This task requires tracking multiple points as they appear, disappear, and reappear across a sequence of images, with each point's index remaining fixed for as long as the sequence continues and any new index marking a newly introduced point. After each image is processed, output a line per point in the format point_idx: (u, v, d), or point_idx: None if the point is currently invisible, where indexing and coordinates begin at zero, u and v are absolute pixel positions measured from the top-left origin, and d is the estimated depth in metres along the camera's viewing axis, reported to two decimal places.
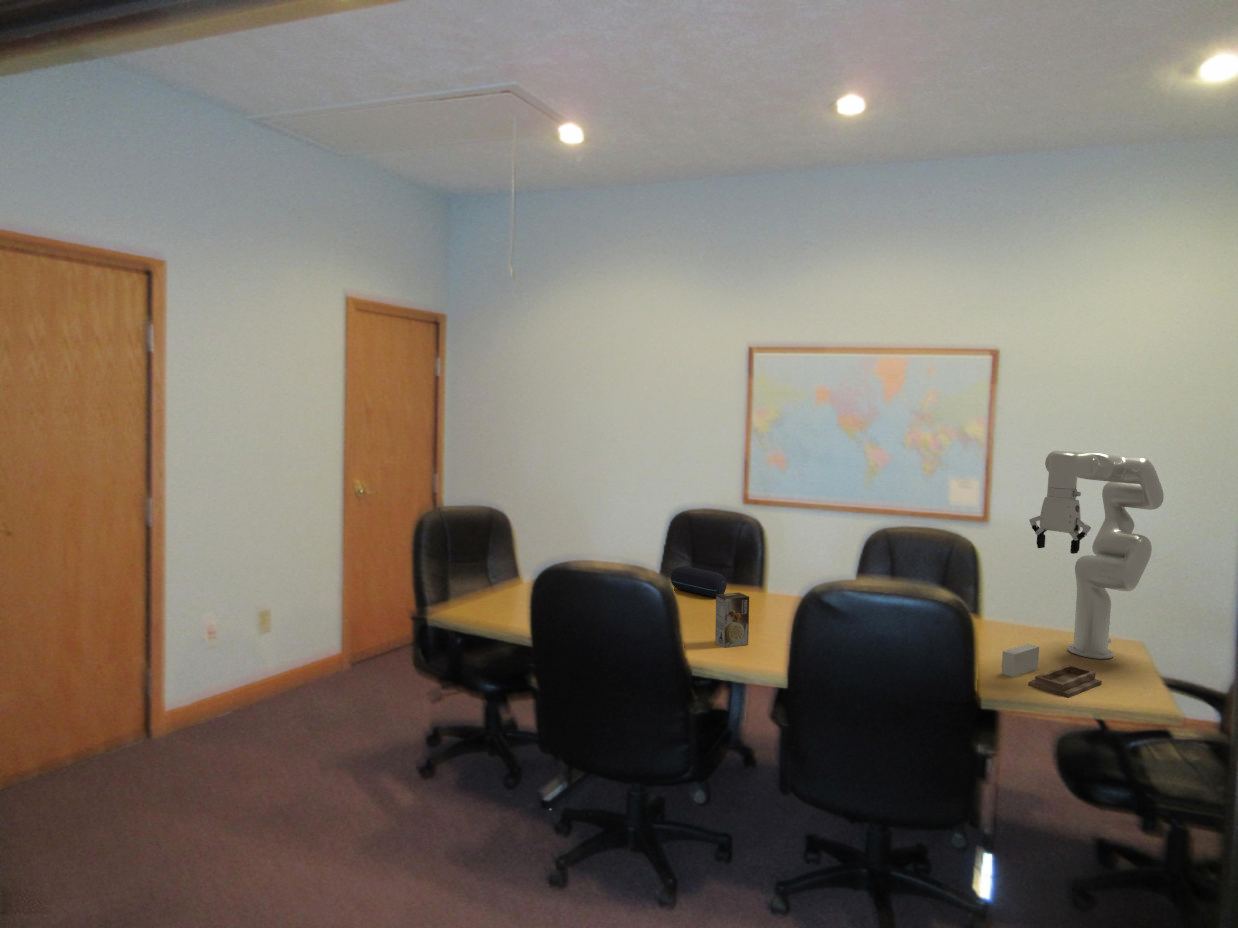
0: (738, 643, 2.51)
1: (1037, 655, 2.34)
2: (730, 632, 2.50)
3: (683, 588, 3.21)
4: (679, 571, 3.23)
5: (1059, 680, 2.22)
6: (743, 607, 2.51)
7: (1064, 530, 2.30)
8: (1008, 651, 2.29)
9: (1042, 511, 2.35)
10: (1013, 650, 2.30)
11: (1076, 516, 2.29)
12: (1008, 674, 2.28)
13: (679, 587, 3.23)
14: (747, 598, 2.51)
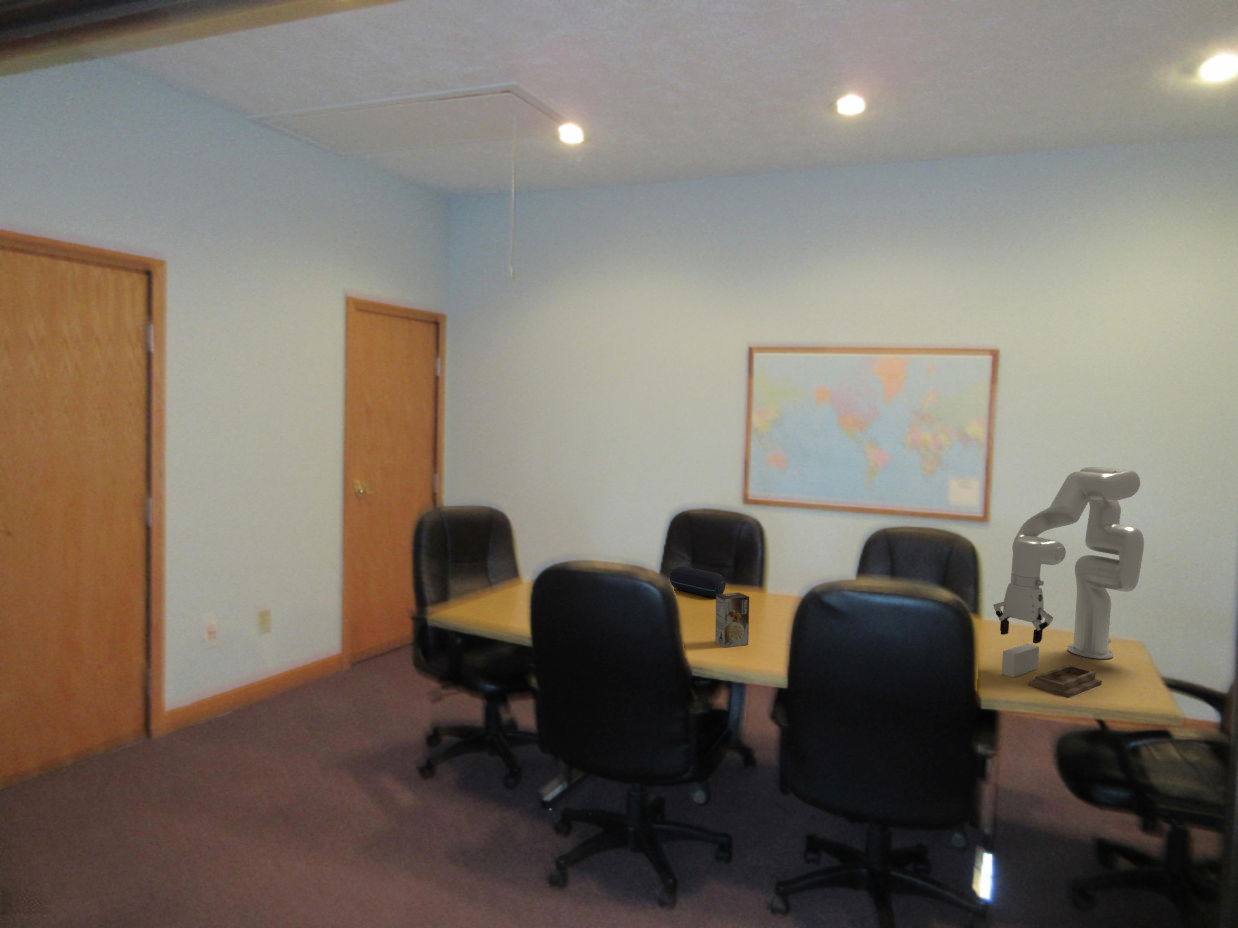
0: (738, 643, 2.51)
1: (1037, 655, 2.35)
2: (730, 632, 2.50)
3: (682, 588, 3.21)
4: (678, 571, 3.23)
5: (1059, 680, 2.22)
6: (743, 607, 2.51)
7: (1027, 619, 2.28)
8: (1009, 651, 2.29)
9: (1005, 598, 2.33)
10: (1013, 650, 2.30)
11: (1039, 605, 2.26)
12: (1008, 674, 2.28)
13: (678, 587, 3.23)
14: (747, 598, 2.51)
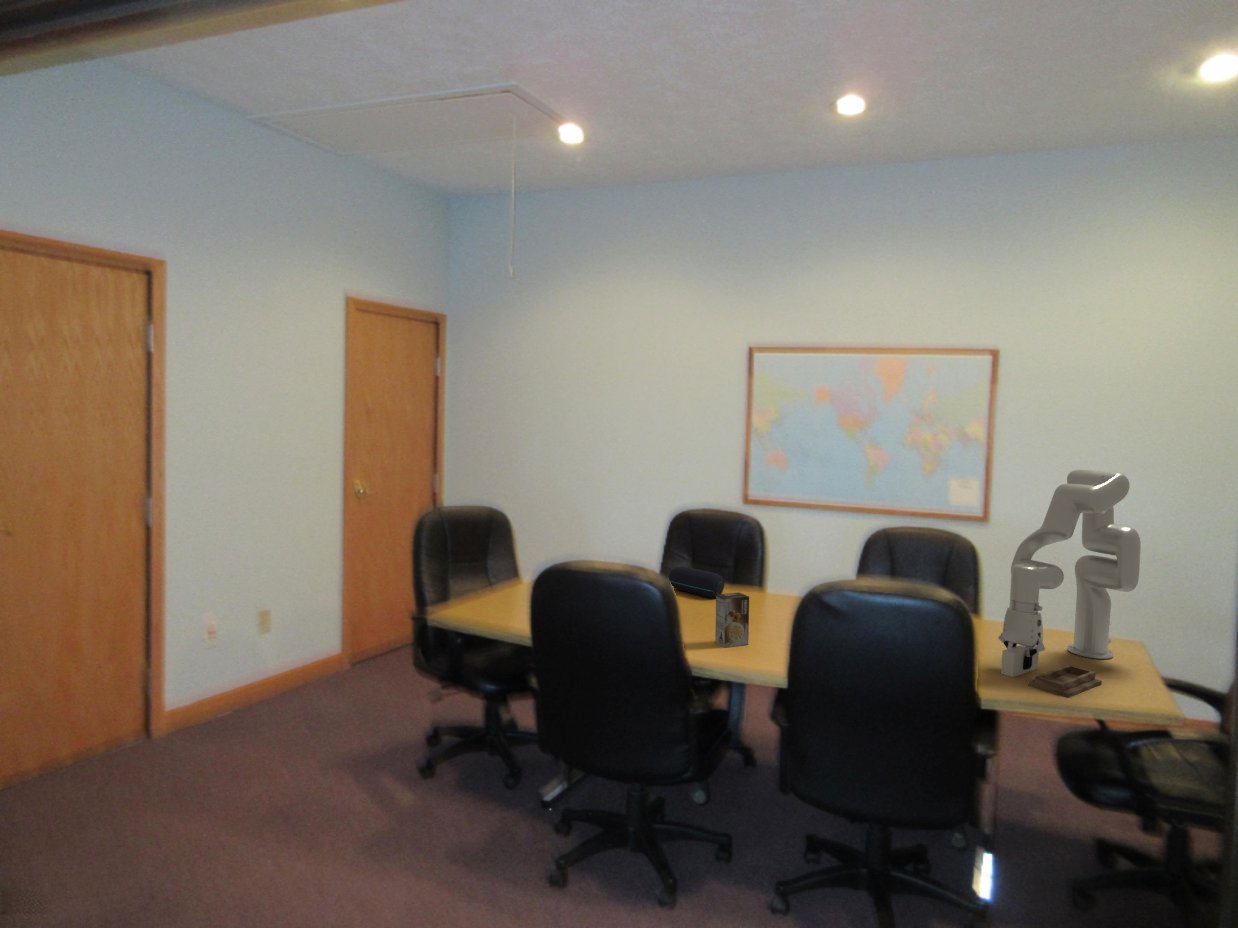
0: (738, 643, 2.51)
1: (1037, 655, 2.34)
2: (730, 632, 2.50)
3: (681, 588, 3.21)
4: (677, 571, 3.22)
5: (1059, 680, 2.22)
6: (743, 607, 2.51)
7: (1026, 644, 2.29)
8: (1008, 650, 2.29)
9: (1005, 622, 2.34)
10: (1013, 649, 2.30)
11: (1038, 630, 2.27)
12: (1008, 673, 2.28)
13: (677, 587, 3.22)
14: (747, 598, 2.51)
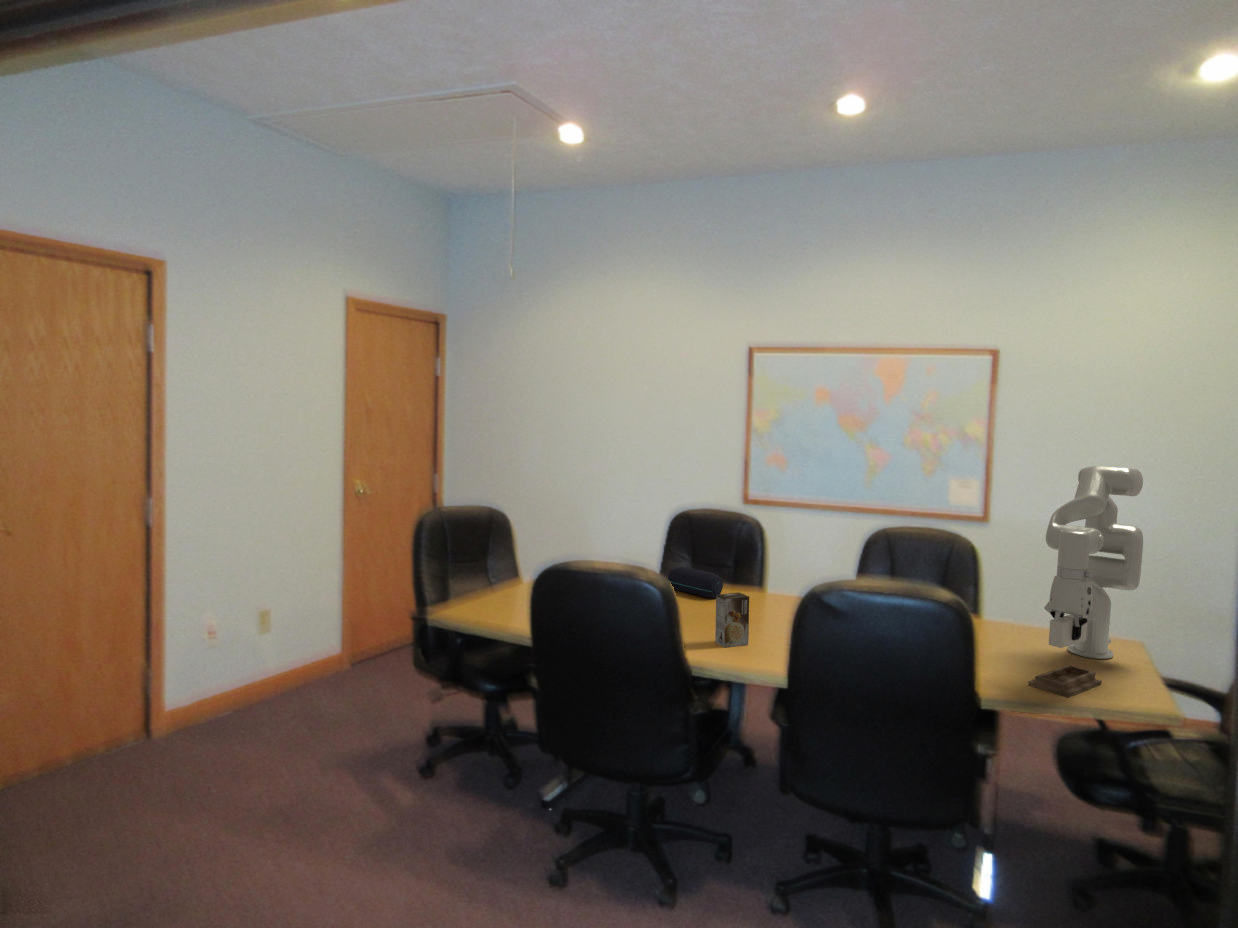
0: (738, 643, 2.51)
1: (1086, 625, 2.23)
2: (730, 632, 2.50)
3: (680, 588, 3.21)
4: (676, 571, 3.22)
5: (1059, 680, 2.22)
6: (743, 607, 2.51)
7: (1075, 613, 2.17)
8: (1056, 620, 2.18)
9: (1052, 591, 2.22)
10: (1061, 619, 2.19)
11: (1088, 598, 2.16)
12: (1056, 644, 2.17)
13: (676, 587, 3.22)
14: (747, 598, 2.51)
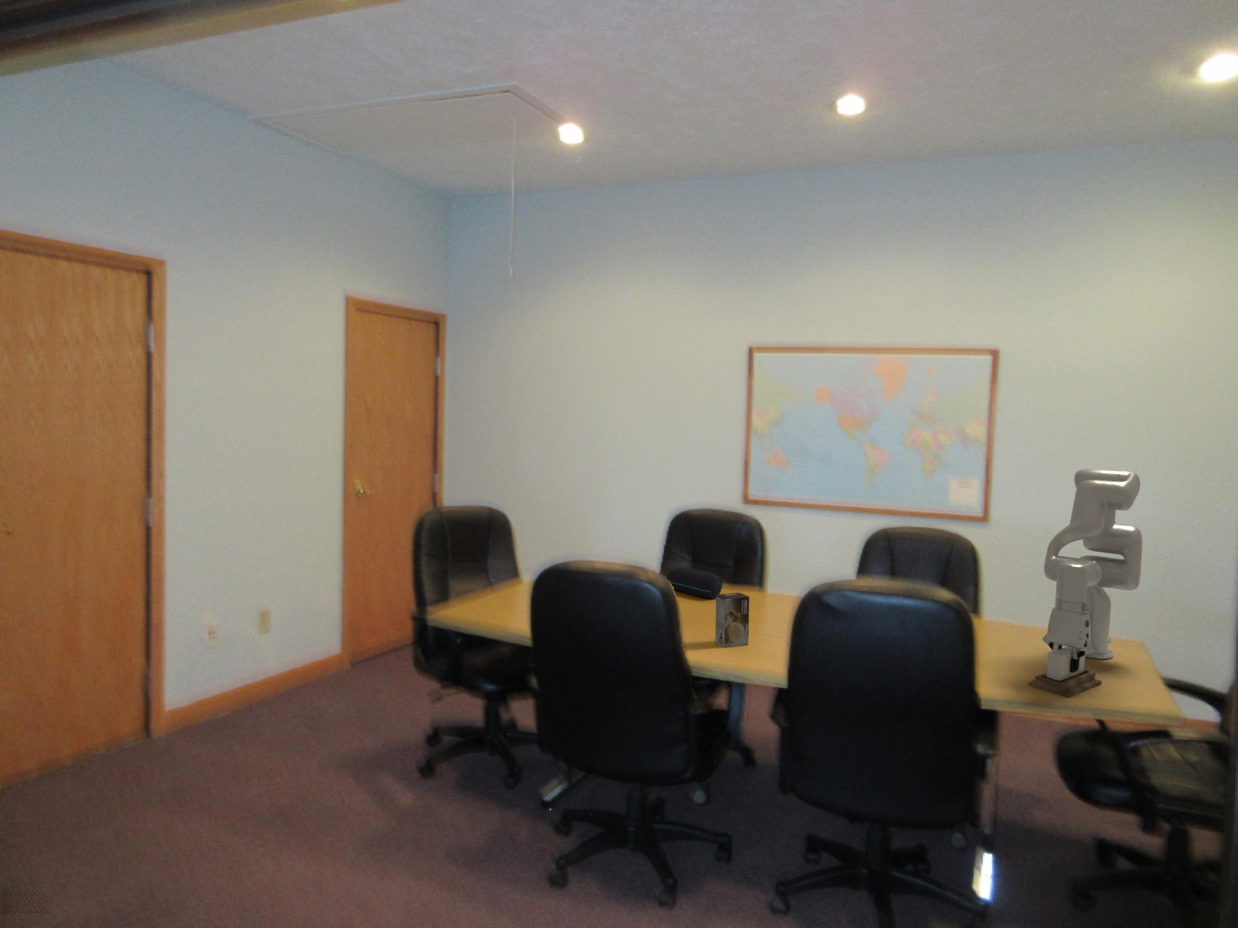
0: (738, 643, 2.51)
1: (1084, 657, 2.23)
2: (730, 632, 2.50)
3: (679, 589, 3.20)
4: (675, 571, 3.22)
5: None
6: (743, 607, 2.51)
7: (1073, 646, 2.18)
8: (1054, 652, 2.18)
9: (1050, 623, 2.23)
10: (1059, 651, 2.19)
11: (1086, 631, 2.16)
12: (1054, 677, 2.17)
13: (675, 588, 3.22)
14: (747, 598, 2.51)
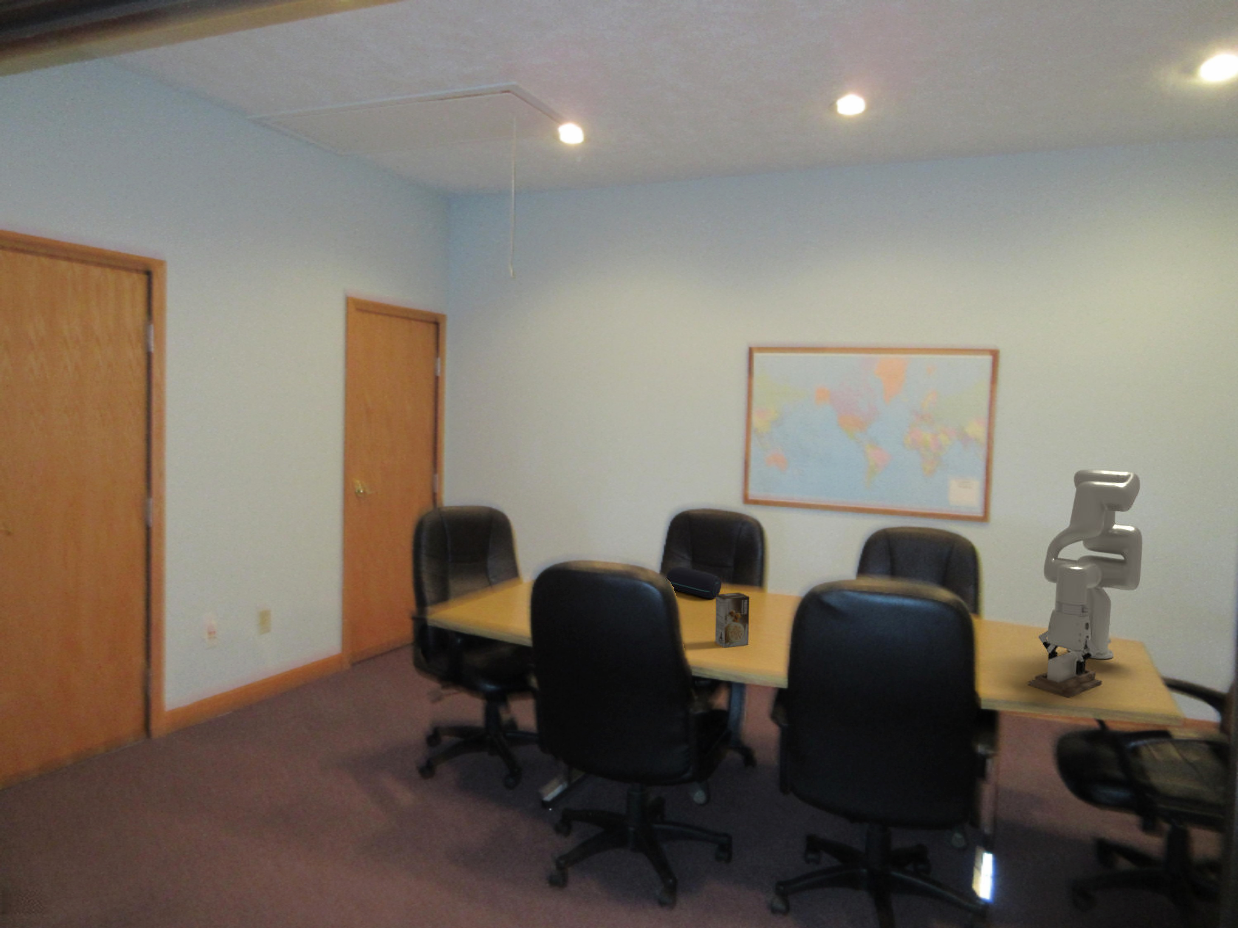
0: (738, 643, 2.51)
1: None
2: (730, 632, 2.50)
3: (678, 589, 3.20)
4: (674, 571, 3.22)
5: None
6: (743, 607, 2.51)
7: (1073, 648, 2.18)
8: (1054, 660, 2.18)
9: (1050, 625, 2.23)
10: (1059, 659, 2.19)
11: (1086, 634, 2.16)
12: None
13: (674, 588, 3.22)
14: (747, 598, 2.51)
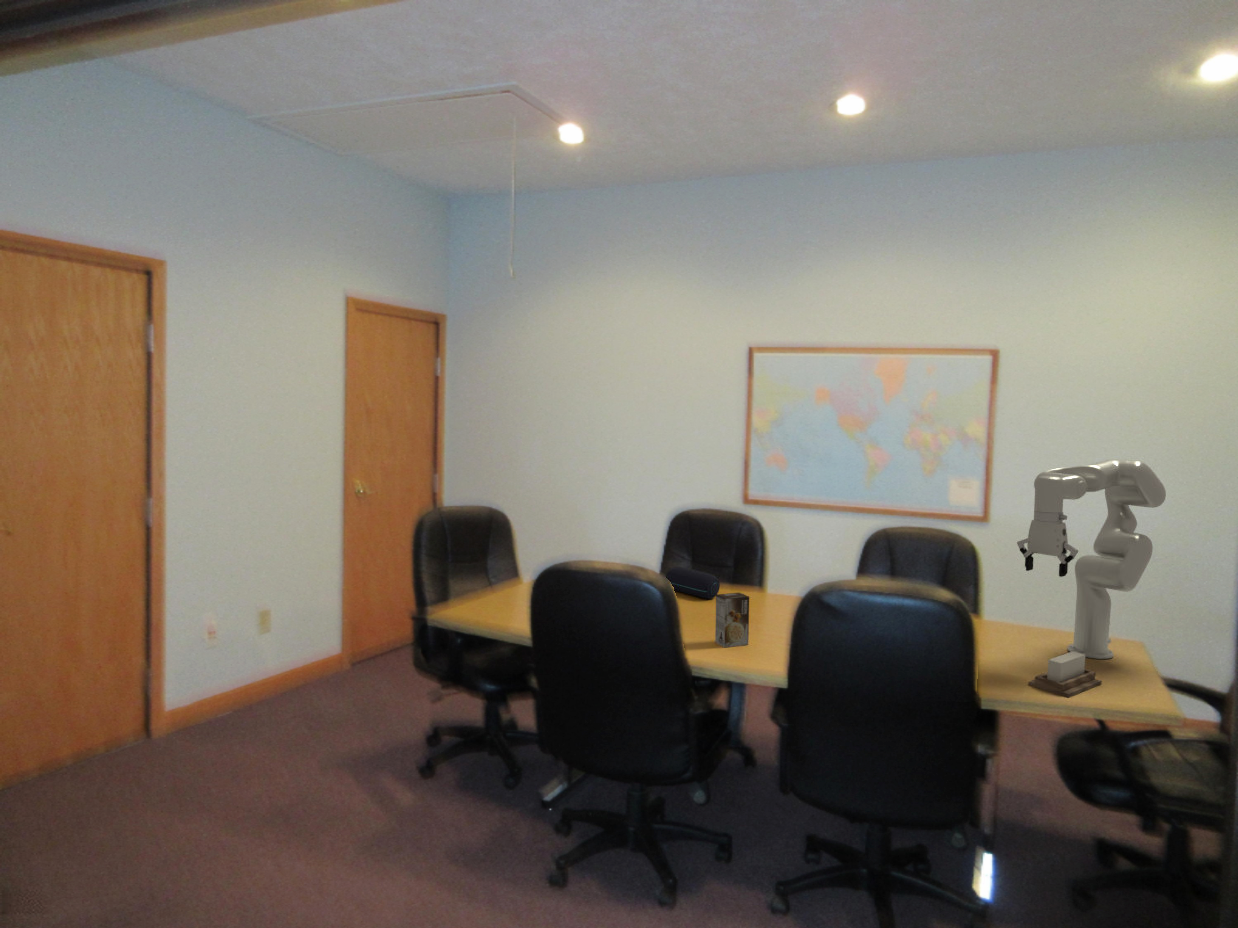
0: (738, 643, 2.51)
1: (1084, 664, 2.24)
2: (730, 632, 2.50)
3: (677, 589, 3.20)
4: (673, 572, 3.21)
5: None
6: (743, 607, 2.51)
7: (1052, 553, 2.32)
8: (1054, 660, 2.18)
9: (1029, 534, 2.37)
10: (1059, 659, 2.19)
11: (1063, 539, 2.30)
12: None
13: None
14: (747, 598, 2.51)
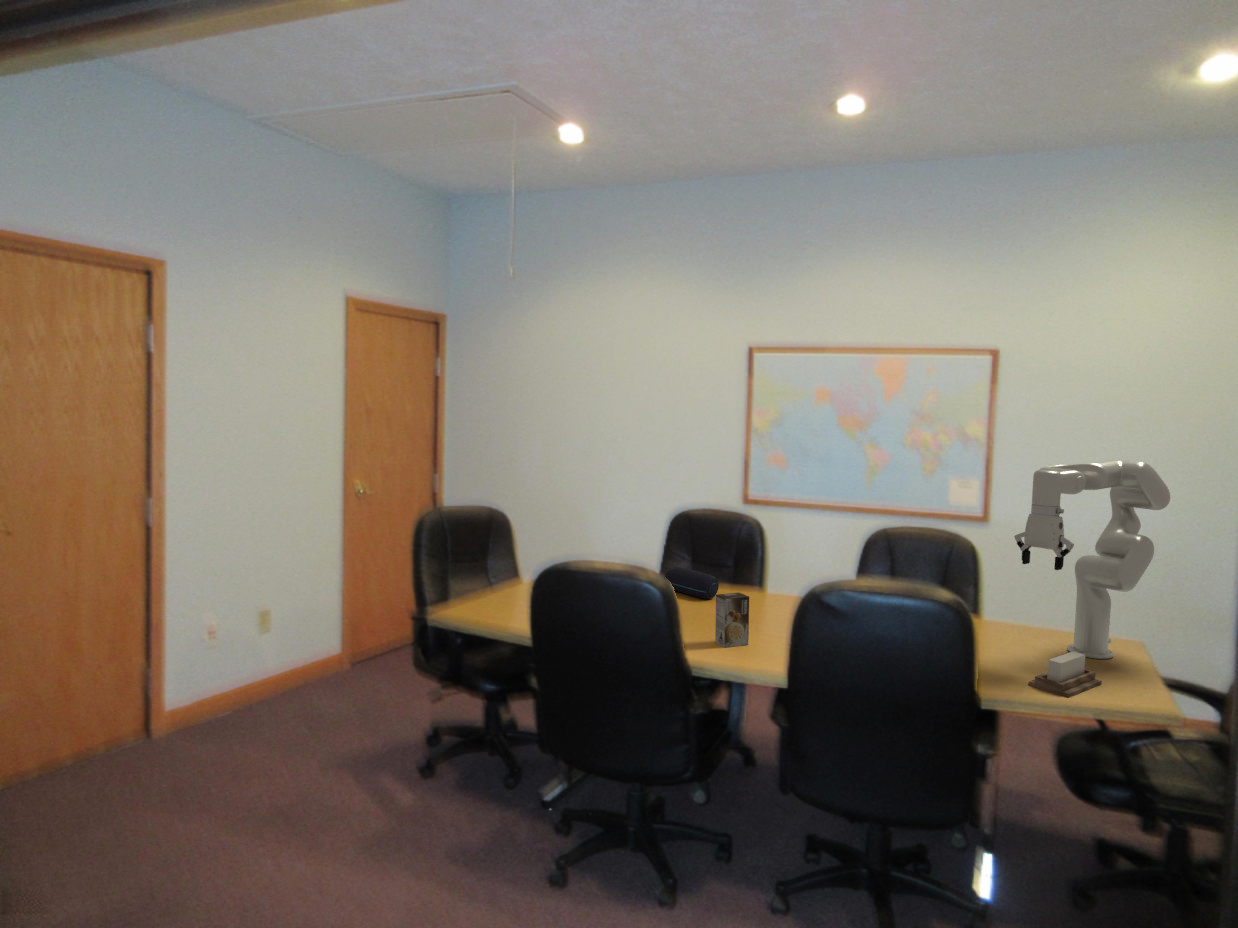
0: (738, 643, 2.51)
1: (1084, 664, 2.24)
2: (730, 632, 2.50)
3: (676, 589, 3.20)
4: (672, 572, 3.21)
5: None
6: (743, 607, 2.51)
7: (1048, 547, 2.33)
8: (1054, 660, 2.18)
9: (1026, 528, 2.38)
10: (1059, 659, 2.19)
11: (1060, 533, 2.32)
12: None
13: None
14: (747, 598, 2.51)
